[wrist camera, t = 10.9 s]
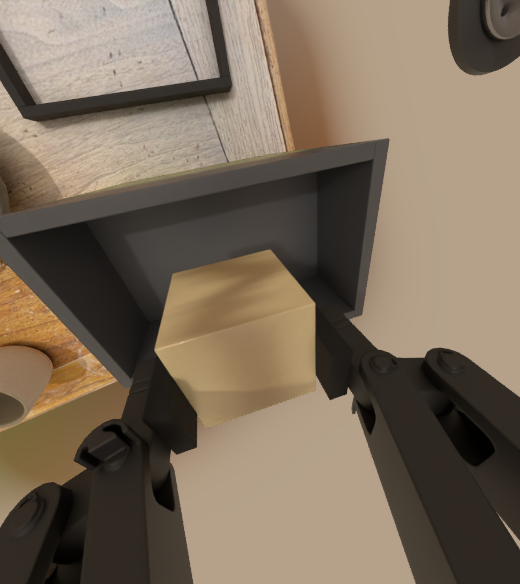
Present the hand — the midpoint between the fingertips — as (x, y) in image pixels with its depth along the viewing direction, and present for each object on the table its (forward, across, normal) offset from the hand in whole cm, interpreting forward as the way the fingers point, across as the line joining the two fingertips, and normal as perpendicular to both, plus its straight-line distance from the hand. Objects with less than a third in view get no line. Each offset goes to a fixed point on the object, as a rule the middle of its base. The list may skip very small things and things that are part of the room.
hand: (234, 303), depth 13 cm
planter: (+31, -47, -21) cm, 60 cm away
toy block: (0, 0, 0) cm, 0 cm away
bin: (+12, 0, -1) cm, 12 cm away
